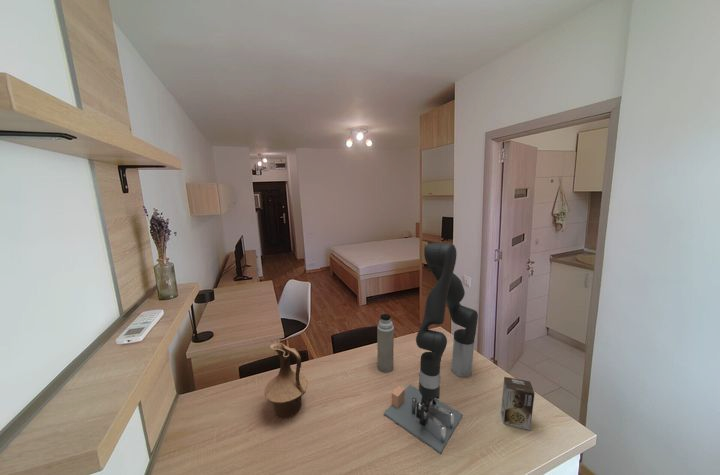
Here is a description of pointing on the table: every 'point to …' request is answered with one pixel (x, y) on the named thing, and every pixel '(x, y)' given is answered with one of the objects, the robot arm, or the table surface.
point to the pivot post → (414, 405)
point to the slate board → (409, 423)
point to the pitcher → (286, 384)
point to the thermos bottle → (385, 344)
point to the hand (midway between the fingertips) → (427, 417)
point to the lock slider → (398, 396)
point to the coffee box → (517, 403)
